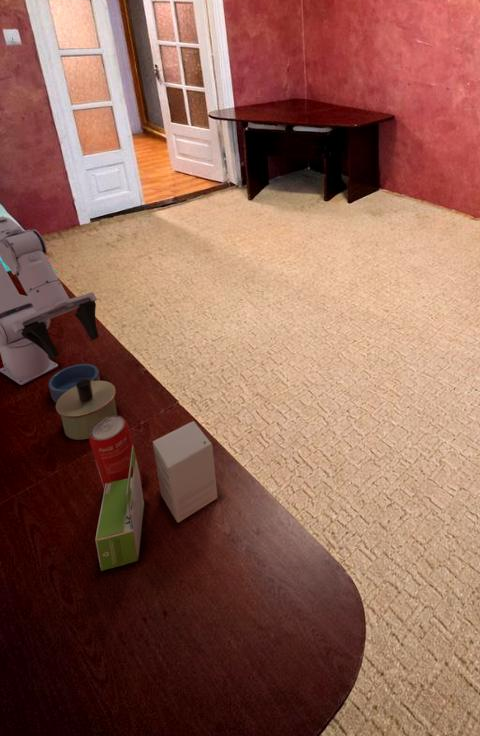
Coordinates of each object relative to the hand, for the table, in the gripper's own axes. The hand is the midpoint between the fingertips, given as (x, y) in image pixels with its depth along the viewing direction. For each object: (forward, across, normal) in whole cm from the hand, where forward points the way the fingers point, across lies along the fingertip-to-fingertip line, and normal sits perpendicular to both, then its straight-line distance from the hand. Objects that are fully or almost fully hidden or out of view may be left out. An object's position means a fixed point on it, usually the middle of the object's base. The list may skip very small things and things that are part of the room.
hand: (76, 347), depth 96 cm
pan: (+7, +3, +18) cm, 20 cm away
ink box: (+33, -12, -13) cm, 37 cm away
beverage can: (+28, -7, -7) cm, 29 cm away
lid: (+10, -1, +5) cm, 11 cm away
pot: (+15, 0, +9) cm, 17 cm away
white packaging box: (+34, -2, -15) cm, 38 cm away
